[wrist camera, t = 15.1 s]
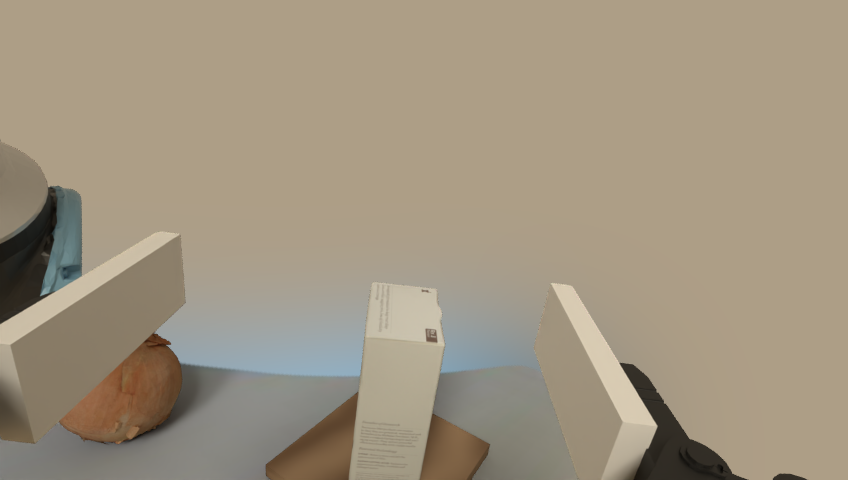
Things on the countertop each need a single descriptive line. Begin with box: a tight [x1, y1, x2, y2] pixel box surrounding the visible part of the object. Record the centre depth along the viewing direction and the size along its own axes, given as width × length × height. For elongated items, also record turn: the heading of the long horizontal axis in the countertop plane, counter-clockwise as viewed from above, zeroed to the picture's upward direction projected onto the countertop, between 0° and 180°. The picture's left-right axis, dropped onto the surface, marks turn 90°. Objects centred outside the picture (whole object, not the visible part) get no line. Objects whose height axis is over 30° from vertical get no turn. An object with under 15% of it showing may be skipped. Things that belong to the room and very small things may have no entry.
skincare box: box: [349, 282, 445, 480], centre depth 37 cm, size 8×6×15 cm
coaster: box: [266, 392, 490, 480], centre depth 39 cm, size 14×14×1 cm
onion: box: [59, 333, 182, 444], centre depth 39 cm, size 10×9×10 cm
